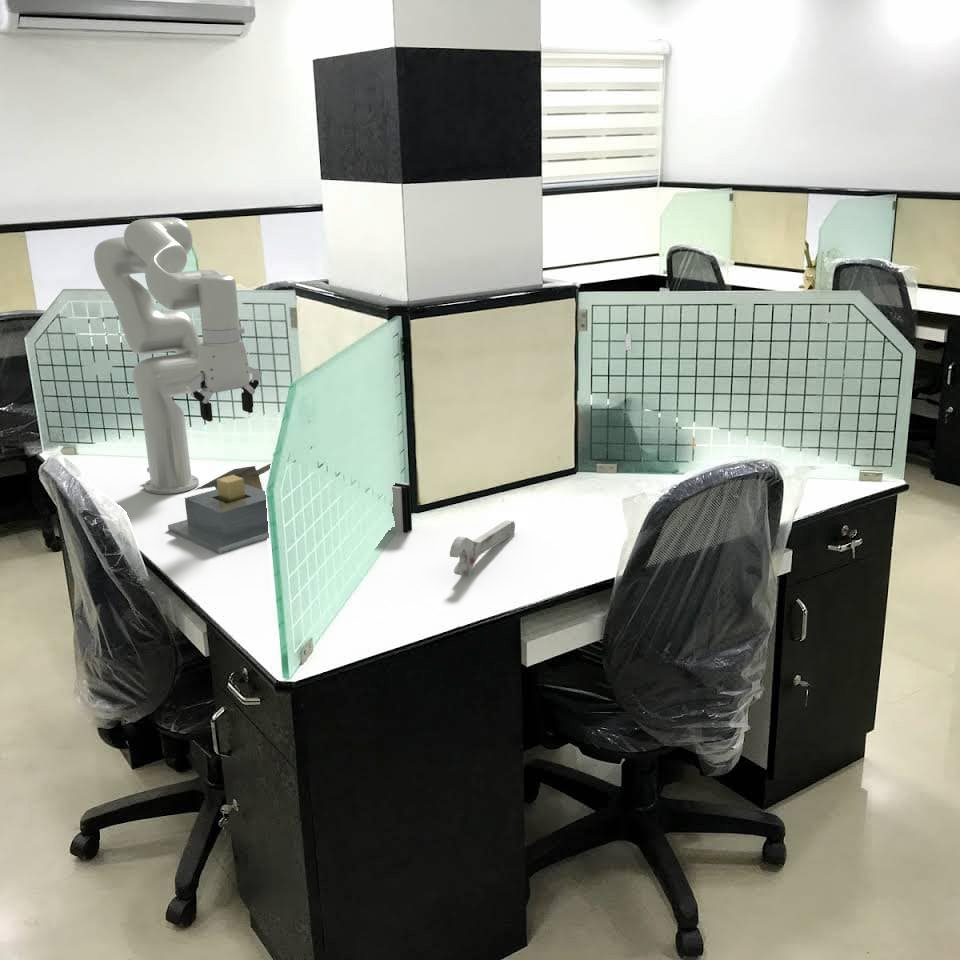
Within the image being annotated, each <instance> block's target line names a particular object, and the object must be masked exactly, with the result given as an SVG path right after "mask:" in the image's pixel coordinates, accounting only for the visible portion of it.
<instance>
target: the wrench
mask: <svg viewBox="0 0 960 960" xmlns="http://www.w3.org/2000/svg"><path fill="white" fill-rule="evenodd" d="M515 530H516V523H515V521H513V520H504V521H502V522H501V523H499V524H498V525H496V526H494V527H493V528H491V529H490V530H488V531H486V532H485V533H483V534H482V535H480V536H479V537H477V538H475V539H474V540H472V539H470V538H469V537H465V536H457V537H456V538H455V539H454V540H453V542H452V544H451V547H450V550H449V557H450V558H451V557H452V558H459V560H458V561H459V562H457V563H456V565H455V566H454V568H453V573H454V574H455V575H459V576H471V575H472V571H473V567H474V566H475V563H476V562H477V560H478V559H479V557H480V556H481V555H483V553H486V552H487V551H489V550H490V549H492V548H494V547H495V546H497V545H498V544H500V543H502V542H503V541H505V540H506V539H508V538H510V537H511V536H513V534H515Z"/></svg>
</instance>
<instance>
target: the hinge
mask: <svg viewBox="0 0 960 960" xmlns="http://www.w3.org/2000/svg"><path fill="white" fill-rule="evenodd" d="M395 482H396V483H395V485H393V487H392V490H393V491H392V492H393V507H392V513H393V516H394V521H395V527H392V528H391V530H389V531H388V532H392V533H398V534H404V533H405V534H408V533H409V532H411V531H413V522H412V521H413V517H412V499H411V498H412V497H411V496H412V495H411V485H410V483H407V482H401V481H395Z"/></svg>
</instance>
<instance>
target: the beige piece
mask: <svg viewBox="0 0 960 960" xmlns="http://www.w3.org/2000/svg"><path fill="white" fill-rule="evenodd" d="M271 464H272V463H269V464H266V465H265V466H262V467H260V468H258V469H256V465H254V466H253V465H252V466H246V467H240V468H239V467H238V468H233V469H232V470H229V471H228V472H226V473H223V474H221V475H220V476H218V477H216V478H214V479H213V480H210V481H208V482H207V483H205V484H203V485H201V486H200V487H199V486H198V487H197V488H195V489H194V491H197V490H204V489H211V488H215V490H216V489H218V488H217V479H219V478H223V477H227V476H231V475H235V476H238V477H241V478H243V479H244V484H247V485H250V486H252V487H255V488H258V489H261V490H263V486H262V482H261V478H260V475H263V474H264V473H267V472H268V471H270V470H271V469H270V465H271ZM269 469H270V470H269Z"/></svg>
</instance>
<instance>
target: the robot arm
mask: <svg viewBox="0 0 960 960" xmlns="http://www.w3.org/2000/svg"><path fill="white" fill-rule="evenodd" d="M192 246H193V235H192V231H191V229H190V227H189V225H188V224H187V223H186V222H185V221H184V220H183V219H181V218H179V217H173V216H172V217H158V218H157V217H154V218H140V219H137V220H133V221H132V222H131V223H129V224H128V225H127V226H126V227H125V230H124V232H123V236H118V237H113V238H107V239H105V240H103V241H101V242H99V243H98V244H97V245H96V246H95V249H94V251H93V261H94V268H95V270H96V271H95V272H96V273H97V277H98V278H99V281H100V283H101V285H102V286H103V288H104V290H106V293H108V295H109V297H110V298H111V301H112V302H113V304H114V307H115V309H116V313H117V316H118V319H119V322H120V325H121V328H122V330H123V334H124V336H125V339H126V342H127V345H128V346H129V348H130V350H131V351H132V352H133V354H137V355H141V356H142V355H143V356H146V355H147V356H148V355H154V354H161V353H168V352H170V353H171V352H175V354H167V355H160V356H159V355H158V356H154V357H149V358H145V359H142V360H141V361H139V362H138V363H136V364H135V366H134V367H133V370H132V380H133V383H134V386H135V387H134V388H135V390H136V391H135V392H136V394H137V397H138V400H139V406H140V409H141V417H142V424H143V431H144V432H143V433H144V440H145V447H146V455H147V462H148V467H147V468H146V471H147V473H148V474H149V478H150V479H148V480H147V481H146V482H144V490H145V491H146V492H148V493H151V494H157V495H167V494H168V495H169V494H170V495H171V494H178V493H183V492H186V491H187V492H188V491H190V490H192V489H194V488H195V489H196V487H198V486H199V484H200V483H199V478H198V477H197V476H195V475H192V471H191V462H190V453H189V452H190V451H189V442H188V432H187V426H186V424H187V423H186V419H185V413H184V411H183V409H182V408H181V407H180V406H179V405H178V404H177V402H175V401H174V399H173V397H175V396H180V395H184V394H185V395H186V394H190V396H192V397H193V398H195V400H196V401H198V403H199V411H200V416H201V418H202V420H204V421H206V422H213V420H214V418H213V409H212V408H213V407H212V403H211V402H209V401H210V399H211V398H212V396H213V395H214V393H217V394H218V393H222V392H227V391H228V392H229V391H231V390H232V391H233V390H237V389H238V390H239V389H241V390H242V391H243V392H241V394H240V395H241V396H240V399H241V407H242V408H241V409H242V411H243V412H246V413H250V414H252V413H254V396H253V395H254V394H255V393H256V389H257V387H258V386H259V385H260V380H261V377H262V374H263V372H262V371H261V370H258V369H256V368H253V367H251V366H250V365H249V360H248V355H247V351H246V346H245V344H244V341H243V340H242V339H241V335H242V334H245V328H244V327H243V326H242V327H240V320H239V318H240V317H239V306H238V305H239V304H238V294H237V293H238V292H237V284H236V280H235V278H234V277H233V276H231V275H229V274H223V273H221V272H220V271H218V270H215V269H201V270H190V271H187V270H186V271H184V269H185V267H186V265H187V262H188V254H189V253H190V251H191V249H192ZM134 274H136V275H137V274H144V278H145V284H146V287H147V288H146V287H144V286H143V284H141V283H140V282H139V281H138V280H137V279H135V278H133V277H132V276H131V275H134ZM152 297H153V298H152ZM153 299H155V301H157V303H159V304H160V305H161V306H163V307H164V308H166V309H168V310H164V311H159V310H157V309H156V307H155V304H154V301H153ZM195 308H197V309H198V308H199V310H200V312H199V314H200V324H201V333H202V342H200V339H199V338H200V337H199V335H198V333H197V329H196V327H195V324H194V322H193V320H192V319H191V317H190V316H189V315H188V314H187V313H185V312H184V311H182V310H188V309H195ZM251 375H252V377H251ZM250 378H251V379H250Z"/></svg>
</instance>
